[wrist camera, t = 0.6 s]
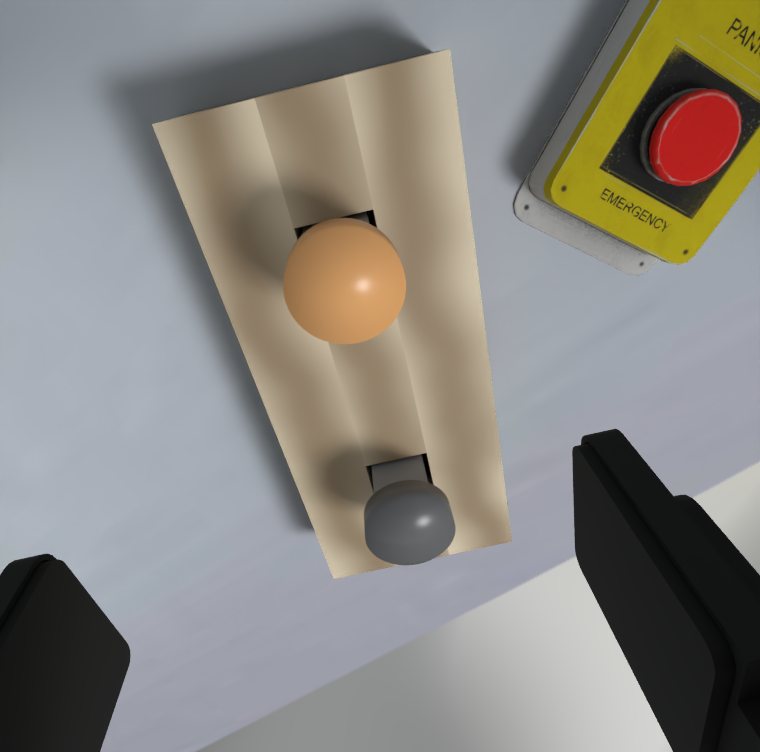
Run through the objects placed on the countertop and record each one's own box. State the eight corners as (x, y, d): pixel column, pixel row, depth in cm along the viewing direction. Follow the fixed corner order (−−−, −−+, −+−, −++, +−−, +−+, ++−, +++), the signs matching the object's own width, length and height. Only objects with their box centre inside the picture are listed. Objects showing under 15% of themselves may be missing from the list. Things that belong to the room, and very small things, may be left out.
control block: (433, 52, 24) (449, 48, 20) (495, 498, 38) (511, 541, 34) (178, 116, 24) (152, 124, 21) (333, 533, 38) (333, 578, 35)
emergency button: (529, 233, 24) (770, -172, 18) (503, 211, 28) (693, -129, 22) (679, 307, 27) (937, -24, 20) (637, 277, 31) (843, -9, 24)
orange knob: (381, 185, 24) (392, 214, 19) (401, 283, 26) (416, 329, 22) (279, 210, 24) (266, 244, 19) (308, 304, 27) (303, 355, 22)
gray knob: (430, 427, 31) (448, 491, 26) (443, 486, 33) (461, 554, 29) (352, 444, 31) (355, 511, 26) (370, 502, 34) (375, 572, 29)
